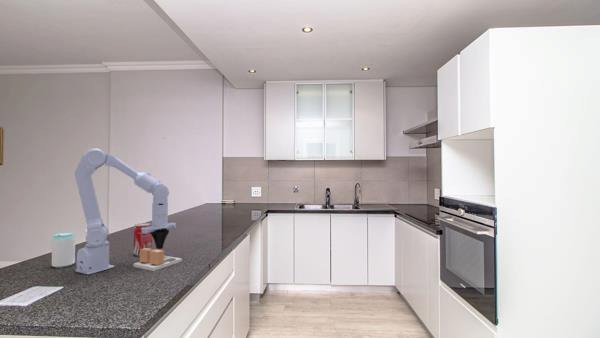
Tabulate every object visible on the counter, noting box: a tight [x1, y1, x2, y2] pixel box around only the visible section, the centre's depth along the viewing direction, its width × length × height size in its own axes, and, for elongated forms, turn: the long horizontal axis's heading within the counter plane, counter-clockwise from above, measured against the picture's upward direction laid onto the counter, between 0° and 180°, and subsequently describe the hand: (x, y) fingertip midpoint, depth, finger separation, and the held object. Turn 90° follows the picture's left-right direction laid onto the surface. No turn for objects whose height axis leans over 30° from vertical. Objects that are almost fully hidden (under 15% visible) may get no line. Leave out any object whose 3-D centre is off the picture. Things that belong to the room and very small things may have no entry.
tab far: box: [139, 248, 155, 263], centre depth 118 cm, size 3×4×5 cm
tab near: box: [150, 249, 165, 265], centre depth 116 cm, size 3×4×5 cm
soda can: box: [133, 222, 153, 257], centre depth 134 cm, size 7×7×13 cm
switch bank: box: [133, 255, 183, 272], centre depth 120 cm, size 13×11×1 cm
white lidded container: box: [51, 232, 76, 269], centre depth 118 cm, size 7×7×12 cm
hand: (159, 248), depth 124 cm, fingers closed
